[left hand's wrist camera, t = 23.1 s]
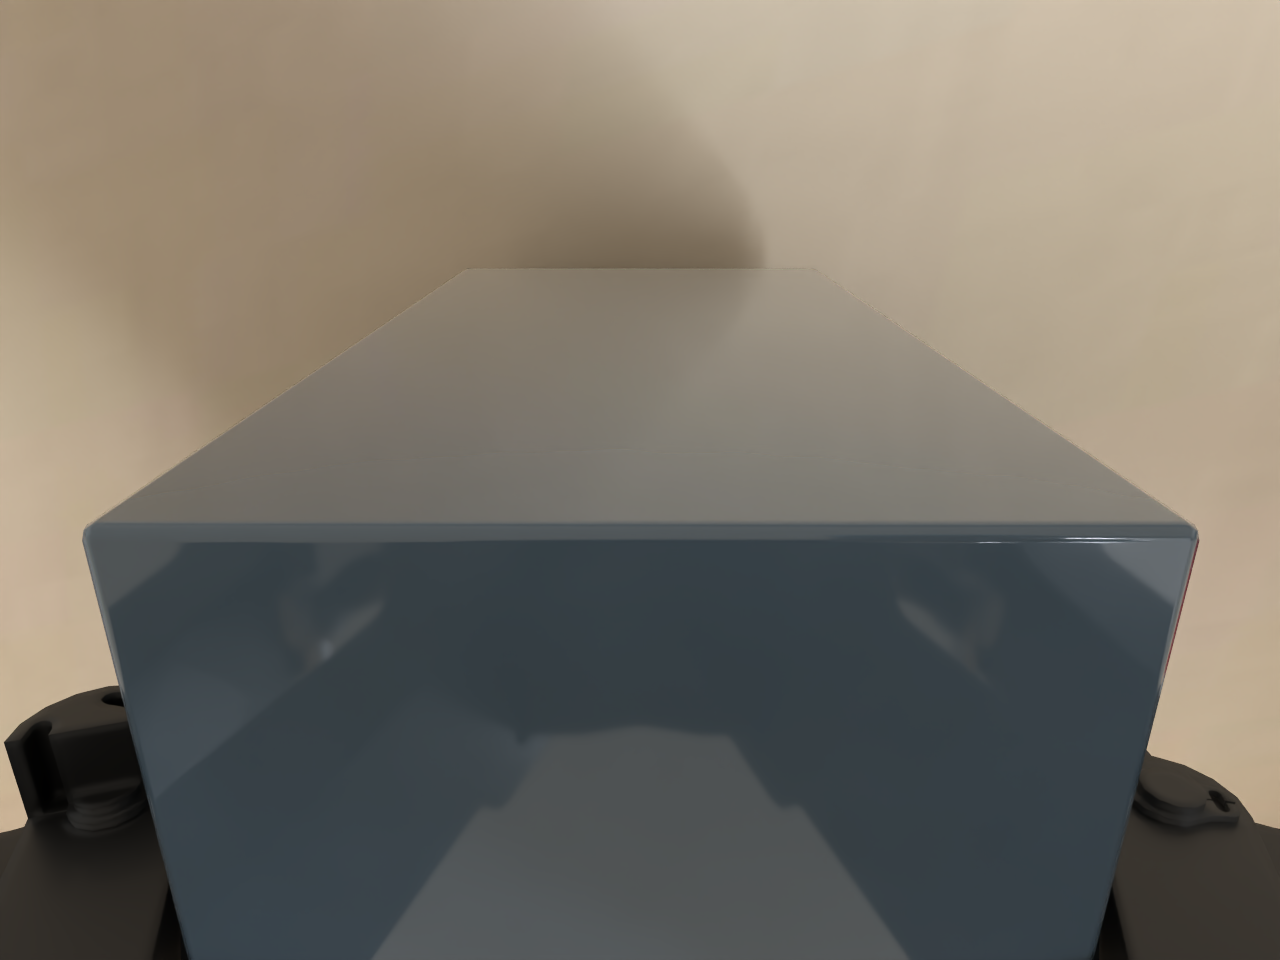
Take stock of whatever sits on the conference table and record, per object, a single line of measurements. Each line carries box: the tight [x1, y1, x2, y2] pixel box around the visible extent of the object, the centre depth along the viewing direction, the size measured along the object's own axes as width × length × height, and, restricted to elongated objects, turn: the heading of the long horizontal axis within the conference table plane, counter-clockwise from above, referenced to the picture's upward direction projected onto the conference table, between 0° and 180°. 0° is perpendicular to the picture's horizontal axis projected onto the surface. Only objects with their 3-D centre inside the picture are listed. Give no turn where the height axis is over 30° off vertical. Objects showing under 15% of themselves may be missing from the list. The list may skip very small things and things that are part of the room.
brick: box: [82, 268, 1199, 960], centre depth 12 cm, size 9×6×11 cm
